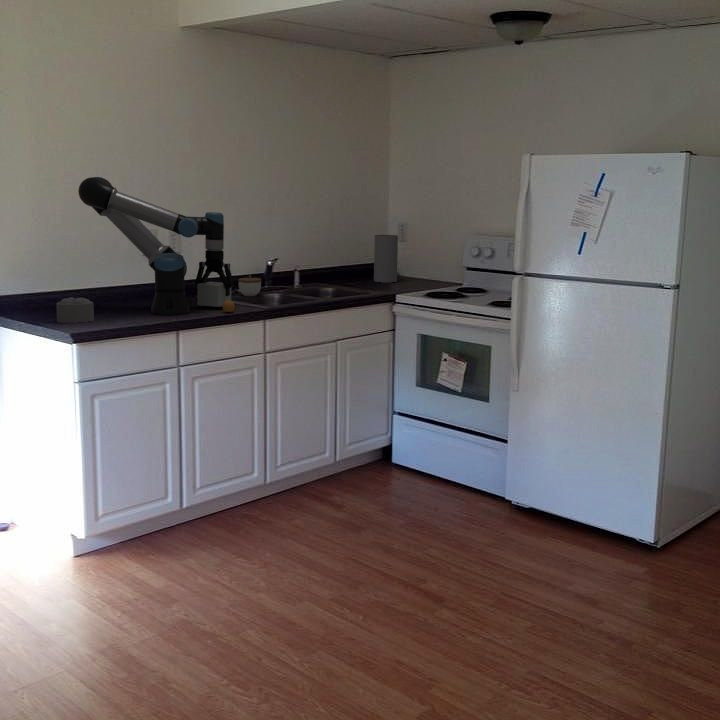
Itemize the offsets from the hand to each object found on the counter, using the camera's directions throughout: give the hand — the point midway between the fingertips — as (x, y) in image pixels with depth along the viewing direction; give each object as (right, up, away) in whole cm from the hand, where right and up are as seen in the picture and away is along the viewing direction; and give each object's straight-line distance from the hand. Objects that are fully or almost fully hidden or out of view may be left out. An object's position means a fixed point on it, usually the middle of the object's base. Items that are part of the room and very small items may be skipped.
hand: (214, 302), depth 380 cm
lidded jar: (+10, +6, +43) cm, 45 cm away
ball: (+8, -2, -13) cm, 15 cm away
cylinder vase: (+75, +18, +109) cm, 134 cm away
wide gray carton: (0, -1, 0) cm, 1 cm away
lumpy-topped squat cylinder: (-46, -10, -40) cm, 62 cm away
